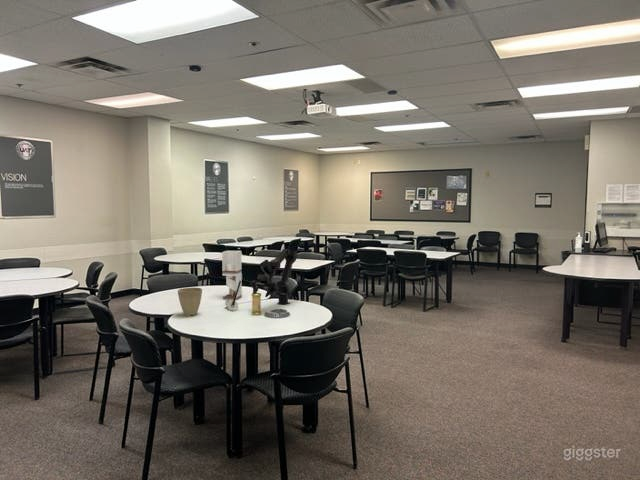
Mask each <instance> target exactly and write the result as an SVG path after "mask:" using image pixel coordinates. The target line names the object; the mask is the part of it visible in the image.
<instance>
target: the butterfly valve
mask: <svg viewBox="0 0 640 480" xmlns="http://www.w3.org/2000/svg"><path fill="white" fill-rule="evenodd" d="M240 284H241V281H239V284H238V287H237V290H236V294H235V297H234V299H233V300H225V302H224V305H225V306H227V309H228V310H229V311H232V312H235V311H237V310H238V307H239V303H238V301H237V300H236V296H237V293H238V290H239V287H240Z"/></svg>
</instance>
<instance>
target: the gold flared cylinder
mask: <svg viewBox="0 0 640 480" xmlns="http://www.w3.org/2000/svg"><path fill="white" fill-rule="evenodd" d="M261 296H262V293H261V292H257V293H253V292H251V298H252V299H251V300H252V301H251V302H252V303H251V305H252V308H251V311H252V312H251V315H252V316H261V315H262V311H261V310H262V309H261V307H262V305H261V303H262V300H261V299H262V297H261Z"/></svg>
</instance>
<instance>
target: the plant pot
mask: <svg viewBox="0 0 640 480" xmlns="http://www.w3.org/2000/svg"><path fill="white" fill-rule="evenodd" d="M202 293H203V288H201V287H183V288H179V289H177V295H178V300H179V304H180V307H181V309H182V312H183V314H184V316H185V315H187V316H186V317H192V316H191V315H194V316H196V314H198V311H199V308H200V305H201V300H202V295H203V294H202Z"/></svg>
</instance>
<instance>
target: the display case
mask: <svg viewBox="0 0 640 480" xmlns="http://www.w3.org/2000/svg"><path fill="white" fill-rule="evenodd" d="M221 254H222V255H221V256H222V257H221V258H222V263H221V264H222V267H221V269H222V276H225V278H226V279H225V280H226V281H225V282H226V283H225V284H226V287H227V288H228V290H229V291H228V294H225V295H224V296H222V300H223V301H226V300H229V301H230V300H233V299H234V297H235V294H236V290H237V287H238V284H239V281H241V284H240V287H239V290H238V293H237V296H236V300H235V301H239V300H240V299H242V298H243V292H242V291H243V289H242V287H243V285H242V284H243V283H242V280H243V279H242V278H243V277H242V276H243V275H242V267H243V266H242V250H224V251H222V253H221Z"/></svg>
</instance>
